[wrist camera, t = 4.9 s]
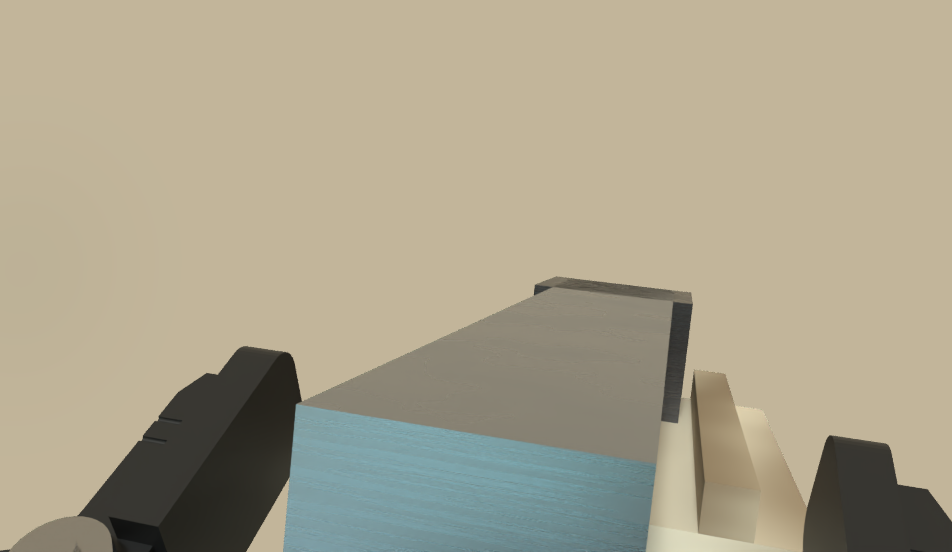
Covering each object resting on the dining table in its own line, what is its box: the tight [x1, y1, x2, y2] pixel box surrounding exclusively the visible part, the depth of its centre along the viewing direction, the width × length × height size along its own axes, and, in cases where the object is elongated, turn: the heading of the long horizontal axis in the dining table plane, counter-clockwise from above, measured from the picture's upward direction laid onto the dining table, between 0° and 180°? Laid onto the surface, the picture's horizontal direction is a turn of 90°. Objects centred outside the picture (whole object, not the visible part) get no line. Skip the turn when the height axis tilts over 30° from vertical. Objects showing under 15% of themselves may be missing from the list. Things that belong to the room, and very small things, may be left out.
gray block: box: [283, 277, 693, 552], centre depth 19 cm, size 5×22×4 cm, turn 167°
